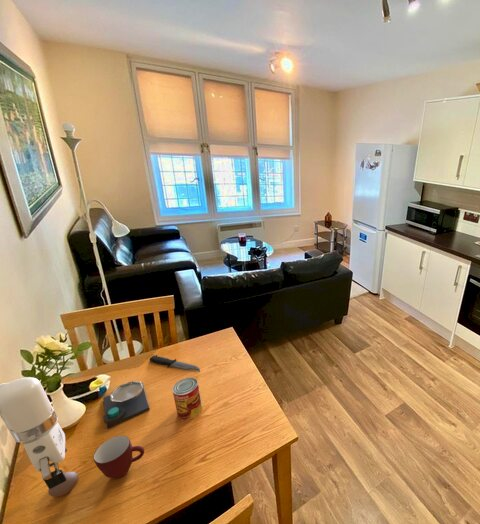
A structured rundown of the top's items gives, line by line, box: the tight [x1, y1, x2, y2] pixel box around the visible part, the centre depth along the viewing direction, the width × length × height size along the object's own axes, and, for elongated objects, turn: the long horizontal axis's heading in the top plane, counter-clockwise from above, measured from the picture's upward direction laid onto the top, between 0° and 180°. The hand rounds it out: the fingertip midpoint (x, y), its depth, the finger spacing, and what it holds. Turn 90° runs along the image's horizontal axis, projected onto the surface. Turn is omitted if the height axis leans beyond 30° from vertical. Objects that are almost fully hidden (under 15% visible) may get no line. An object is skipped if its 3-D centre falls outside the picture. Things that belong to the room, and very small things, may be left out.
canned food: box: [171, 376, 203, 421], centre depth 102 cm, size 8×8×12 cm
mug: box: [93, 435, 145, 480], centre depth 83 cm, size 10×8×10 cm
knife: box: [149, 354, 201, 373], centre depth 124 cm, size 25×2×5 cm
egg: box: [47, 471, 80, 498], centre depth 79 cm, size 6×6×4 cm
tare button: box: [108, 407, 119, 418], centre depth 98 cm, size 3×3×2 cm
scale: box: [103, 382, 151, 430], centre depth 104 cm, size 12×15×3 cm
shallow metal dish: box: [109, 380, 144, 404], centre depth 106 cm, size 10×10×1 cm
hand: (58, 468), depth 77 cm, fingers open, 9 cm apart
